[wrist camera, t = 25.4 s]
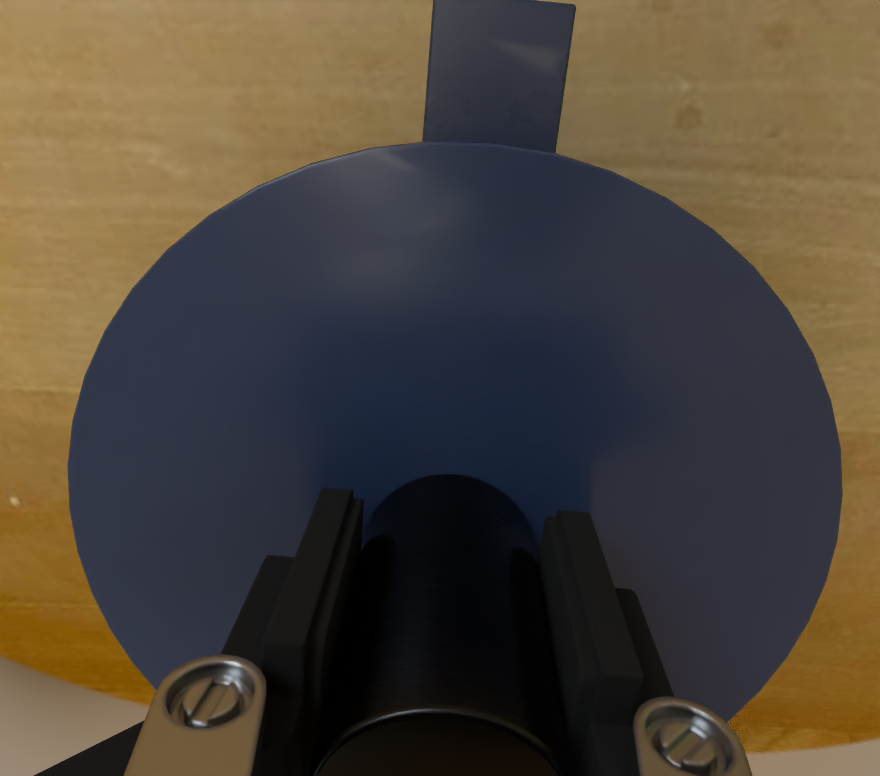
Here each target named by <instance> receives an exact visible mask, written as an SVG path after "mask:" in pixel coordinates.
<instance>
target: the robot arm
mask: <svg viewBox="0 0 880 776" xmlns="http://www.w3.org/2000/svg"><path fill="white" fill-rule="evenodd" d="M363 509H364V500H363V499H359V498H353V490H348V489H337V488H327V487H322V489H321V491H320V494H319V496H318V499H317V501H316V504H315V507H314V509H313V512H312V514H311V517H310V519H309V522H308V524H307V527H306V530H305V532H304V535H303V537H302V540H301V542H300V545H299V547H298V550H297V552H296V555H295V557H287V556H277V555H268V556H266V558H265V559H264V561H263V563H262V565H261V567H260V569H259V572H258V574H257V576H256V578H255V580H254V582H253V585H252V587H251V589H250V591H249V593H248V595H247V598H246V600H245V602H244V604H243V606H242V608H241V611H240V613H239V615H238V617H237V619H236V621H235V624H234V626H233V628H232V630H231V632H230V634H229V637H228V639H227V641H226V643H225V645H224V647H223V650H222V652H221V654H218V655H208V656H203V657H200V658H197V659H194V660H191V661H188V662H187V663H185V664H183V665H181V666H180V667H178V668H176V669H174V670H173V671H172V672H171V673H170V674H169V675H168V676H167V677H166V678H165V679H164V680H163V681H162V682H161V684H160V686H159V687H158V689H157V691H156V692H155V695H154V697H153V700H152V702H151V705H150V708H149V710H148V713H147V716H146V718H145V720H144V721H142V722H140V723H138V724H136V725H134V726H132V727H130V728H128V729H126V730H124V731H122V732H120V733H118V734H116V735H114V736H112V737H110V738H108V739H106V740H104V741H102V742H100V743H98V744H96V745H94V746H92V747H90V748H88V749H86V750H84V751H82V752H80V753H78V754H76V755H74V756H72V757H70V758H68V759H66V760H65V761H62V762H60V763H58V764H56V765H54V766H52V767H50V768H48V769H46V770H44V771H43V772H40V773H38V774H36V775H34V776H307V775H308V771H309V766H310V762H311V758H312V754H313V750H314V746H315V741H316V737H317V733H318V729H319V725H320V722H321V717H322V713H323V709H324V705H325V701H326V697H327V692H328V688H329V684H330V680H331V676H332V672H333V667H334V663H335V659H336V655H337V651H338V647H339V642H340V638H341V634H342V630H343V626H344V622H345V617H346V613H347V609H348V605H349V601H350V597H351V592H352V588H353V584H354V580H355V576H356V571H357V567H358V563H359V559H360V555H361V544H362V526H363ZM537 569H538V575H539V581H540V587H541V593H542V599H543V605H544V611H545V616H546V622H547V628H548V634H549V640H550V646H551V652H552V658H553V663H554V669H555V675H556V681H557V687H558V693H559V699H560V705H561V710H562V716H563V722H564V728H565V734H566V740H567V746H568V752H569V757H570V763H571V769H572V775H573V776H752V772H751V769H750V766H749V763H748V760H747V756H746V753H745V750H744V748H743V746H742V744H741V742H740V740H739V738H738V735H737V734H736V733H735V732H734V730H733V729H732V728H731V727H730V726H729V725H728V723H727V722H726V721H725V720H723V719H722V718H721V717H719V716H718V715H717V714H716V713H714V712H713V711H712V710H710V709H708V708H706V707H704V706H702V705H700V704H698V703H696V702H694V701H690V700H687V699H683V698H680V697H674V694H673V691H672V689H671V686H670V683H669V680H668V678H667V675H666V672H665V670H664V667H663V664H662V662H661V659H660V656H659V654H658V651H657V648H656V645H655V643H654V640H653V637H652V635H651V632H650V629H649V627H648V624H647V621H646V619H645V616H644V613H643V611H642V608H641V605H640V602H639V600H638V597H637V595H636V593H635V591H633V590H632V589H624V588H615V587H614V584H613V581H612V578H611V575H610V572H609V569H608V566H607V563H606V560H605V557H604V554H603V551H602V548H601V545H600V542H599V539H598V536H597V533H596V530H595V526H594V523H593V520H592V517H591V515H590V513H588V512H579V511H569V510H558V511H557V514H556V517H548V516H547V517H546V518H545V522H544V527H543V533H542V539H541V545H540V551H539V557H538V563H537Z"/></svg>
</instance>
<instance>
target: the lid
mask: <svg viewBox="0 0 880 776" xmlns="http://www.w3.org/2000/svg"><path fill="white" fill-rule="evenodd" d="M68 484H69V507H70V515H71V520H72V525H73V530H74V535H75V541H76V546H77V551H78V554H79V557H80V560H81V563H82V566H83V569H84V572H85V575H86V578H87V581H88V583H89V586H90V589H91V592H92V594H93V596H94V598H95V600H96V602H97V604H98V606H99V608H100V610H101V612H102V614H103V616H104V618H105V620H106V622H107V624H108V626H109V628H110V630H111V631H112V633H113V634H114V636H115V637H116V639H117V640H118V642H119V643H120V645H121V646H122V648H123V649H124V651H125V652H126V654H127V655H128V657H129V658H130V660H131V661H132V663H133V664H134V665H135V666H136V668H137V669H138V670H139V671H140V672H141V673H142V675H143V676H144V677H145V678H146V679H147V680H148V681H149V683H150V684H151V685H152V686H153V687H154V688H155V690H156V691H157V689H158V687H159V686H160V684H161V682H162V681H163V680H164V679H165V678H166V677H167V676H168V675H169V674H170V673H171V672H172V671H173V670H174V669H176V668H178V667H180V666H181V665H183V664H185V663H187V662H188V661H191V660H194V659H197V658H200V657H203V656H208V655H218V654H221V652H222V650H223V647H224V645H225V643H226V641H227V639H228V637H229V634H230V632H231V630H232V628H233V626H234V624H235V621H236V619H237V617H238V615H239V613H240V611H241V608H242V606H243V604H244V602H245V600H246V598H247V595H248V593H249V591H250V589H251V587H252V585H253V582H254V580H255V578H256V576H257V574H258V572H259V569H260V567H261V565H262V563H263V561H264V559H265V558H266V556H268V555H277V556H287V557H295V555H296V552H297V550H298V547H299V545H300V542H301V540H302V537H303V535H304V532H305V530H306V527H307V524H308V522H309V519H310V517H311V514H312V512H313V509H314V507H315V504H316V501H317V499H318V496H319V494H320V491H321V489H322V487H327V488H337V489H348V490H353V498H359V499H363V500H364V509H363V526H362V544H361V555H360V559H359V563H358V567H357V571H356V576H355V580H354V584H353V588H352V592H351V597H350V601H349V605H348V609H347V613H346V617H345V622H344V626H343V630H342V634H341V638H340V642H339V647H338V651H337V655H336V659H335V663H334V667H333V672H332V676H331V680H330V684H329V688H328V692H327V697H326V701H325V705H324V709H323V713H322V717H321V722H320V725H319V729H318V733H317V737H316V741H315V746H314V750H313V754H312V758H311V762H310V766H309V771H308V775H307V776H573V775H572V769H571V763H570V757H569V752H568V746H567V740H566V734H565V728H564V722H563V716H562V710H561V705H560V699H559V693H558V687H557V681H556V675H555V669H554V663H553V658H552V652H551V646H550V640H549V634H548V628H547V622H546V616H545V611H544V605H543V599H542V593H541V587H540V581H539V575H538V569H537V563H538V557H539V551H540V545H541V539H542V533H543V527H544V522H545V518H546V517H547V516H548V517H556V514H557V511H558V510H569V511H579V512H588V513H590V515H591V517H592V520H593V523H594V526H595V530H596V533H597V536H598V539H599V542H600V545H601V548H602V551H603V554H604V557H605V560H606V563H607V566H608V569H609V572H610V575H611V578H612V581H613V584H614V587H615V588H624V589H632V590H633V591H635V593H636V595H637V597H638V600H639V602H640V605H641V608H642V611H643V613H644V616H645V619H646V621H647V624H648V627H649V629H650V632H651V635H652V637H653V640H654V643H655V645H656V648H657V651H658V654H659V656H660V659H661V662H662V664H663V667H664V670H665V672H666V675H667V678H668V680H669V683H670V686H671V689H672V691H673V694H674V697H680V698H683V699H687V700H690V701H694V702H696V703H698V704H700V705H702V706H704V707H706V708H708V709H710V710H712V711H713V712H714V713H716V714H717V715H718V716H719V717H721V718H722V719H723V720H725V721H726V722H728V721H730V720H731V719H732V718H733V717H734V716H735V715H736V714H737V713H738V712H739V711H740V710H741V709H742V708H743V707H744V706H745V705H746V704H747V703H748V702H749V701H750V700H751V699H752V698H753V697H754V696H755V695H756V694H757V693H759V692H760V690H761V689H762V688H763V687H764V685H765V684H766V683H767V682H768V680H769V679H770V678H771V677H772V675H773V674H774V673H775V672H776V670H777V669H778V668H779V667H780V665H781V664H782V663H783V662H784V661H785V659H786V658H787V656H788V655H789V653H790V651H791V650H792V648H793V647H794V645H795V643H796V642H797V640H798V638H799V637H800V635H801V633H802V632H803V630H804V628H805V627H806V625H807V623H808V622H809V620H810V617H811V615H812V613H813V610H814V608H815V606H816V603H817V601H818V599H819V597H820V594H821V592H822V590H823V587H824V585H825V583H826V580H827V576H828V572H829V568H830V565H831V561H832V557H833V554H834V550H835V546H836V543H837V538H838V530H839V521H840V512H841V503H842V471H841V448H840V443H839V438H838V433H837V428H836V423H835V418H834V413H833V408H832V403H831V399H830V397H829V394H828V391H827V389H826V386H825V383H824V381H823V378H822V375H821V373H820V370H819V367H818V365H817V362H816V359H815V357H814V354H813V352H812V351H811V349H810V347H809V345H808V344H807V342H806V340H805V338H804V337H803V335H802V333H801V331H800V329H799V328H798V326H797V324H796V322H795V321H794V319H793V317H792V315H791V314H790V312H789V310H788V309H787V307H786V306H785V305H784V304H783V302H782V301H781V300H780V299H779V297H778V296H777V295H776V294H775V292H774V291H773V290H772V289H771V287H770V286H769V285H768V284H767V282H766V281H765V280H764V279H763V277H762V276H761V275H760V274H759V272H758V271H757V270H756V269H755V267H754V266H752V265H751V264H750V263H749V262H748V261H747V260H746V259H745V258H744V257H743V256H742V255H740V254H739V253H738V252H737V251H736V250H735V249H734V248H733V247H732V246H731V245H730V244H729V243H727V242H726V241H725V240H724V239H723V238H722V237H721V236H720V235H719V234H718V233H717V232H716V231H714V230H713V229H712V228H710V227H709V226H707V225H706V224H704V223H703V222H701V221H700V220H698V219H697V218H695V217H694V216H693V215H691V214H690V213H688V212H687V211H685V210H684V209H682V208H681V207H679V206H678V205H676V204H675V203H673V202H672V201H670V200H669V199H667V198H666V197H664V196H662V195H660V194H658V193H656V192H654V191H651V190H649V189H647V188H645V187H643V186H641V185H639V184H637V183H635V182H633V181H631V180H629V179H627V178H625V177H622V176H620V175H618V174H616V173H614V172H612V171H609V170H606V169H603V168H599V167H596V166H593V165H590V164H587V163H584V162H580V161H577V160H574V159H571V158H568V157H565V156H561V155H558V154H555V153H552V152H546V151H540V150H534V149H528V148H522V147H516V146H510V145H504V144H498V143H492V142H455V141H427V142H418V143H409V144H400V145H391V146H383V147H374V148H369V149H365V150H361V151H357V152H354V153H350V154H346V155H342V156H338V157H334V158H330V159H326V160H323V161H319V162H315V163H311V164H309V165H307V166H304V167H302V168H299V169H297V170H295V171H292V172H290V173H287V174H285V175H283V176H280V177H278V178H275V179H273V180H271V181H268V182H266V183H263V184H261V185H259V186H257V187H255V188H253V189H252V190H250V191H248V192H247V193H245V194H243V195H242V196H240V197H238V198H237V199H235V200H233V201H232V202H230V203H228V204H227V205H225V206H223V207H222V208H220V209H218V210H217V211H215V212H213V213H212V214H210V215H209V216H207V217H206V218H205V219H204V220H202V221H201V222H200V223H199V224H198V225H196V226H195V227H194V228H193V229H192V230H190V231H189V232H188V233H187V234H185V235H184V236H183V237H182V238H181V239H179V240H178V241H177V242H176V243H175V244H173V245H172V246H171V247H170V248H168V249H167V250H166V251H165V252H164V254H163V255H162V256H161V257H160V258H159V259H158V260H157V261H156V263H155V264H154V265H153V266H152V267H151V268H150V269H149V270H148V271H147V273H146V274H145V275H144V276H143V277H142V278H141V279H140V280H139V282H138V283H137V284H136V285H135V286H134V287H133V288H132V290H131V291H130V293H129V294H128V296H127V297H126V299H125V300H124V302H123V303H122V305H121V306H120V308H119V310H118V311H117V313H116V314H115V316H114V317H113V319H112V320H111V322H110V323H109V325H108V327H107V328H106V330H105V331H104V333H103V336H102V338H101V340H100V342H99V345H98V347H97V349H96V351H95V354H94V356H93V358H92V360H91V363H90V365H89V367H88V369H87V372H86V374H85V377H84V380H83V384H82V388H81V392H80V395H79V399H78V403H77V406H76V410H75V414H74V418H73V422H72V431H71V440H70V450H69V459H68Z"/></svg>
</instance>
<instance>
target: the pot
mask: <svg viewBox="0 0 880 776" xmlns="http://www.w3.org/2000/svg"><path fill="white" fill-rule="evenodd" d="M575 11H576V6H575V5H574V4H567V3H556V2H546V1H536V0H433V10H432V23H431V36H430V49H429V62H428V75H427V89H426V102H425V115H424V128H423V141H422V142H427V141H455V142H492V143H498V144H504V145H510V146H516V147H522V148H528V149H534V150H540V151H546V152H552V153H555V151H556V144H557V137H558V130H559V123H560V116H561V109H562V102H563V95H564V88H565V81H566V74H567V67H568V60H569V53H570V46H571V39H572V32H573V25H574V18H575Z"/></svg>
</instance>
